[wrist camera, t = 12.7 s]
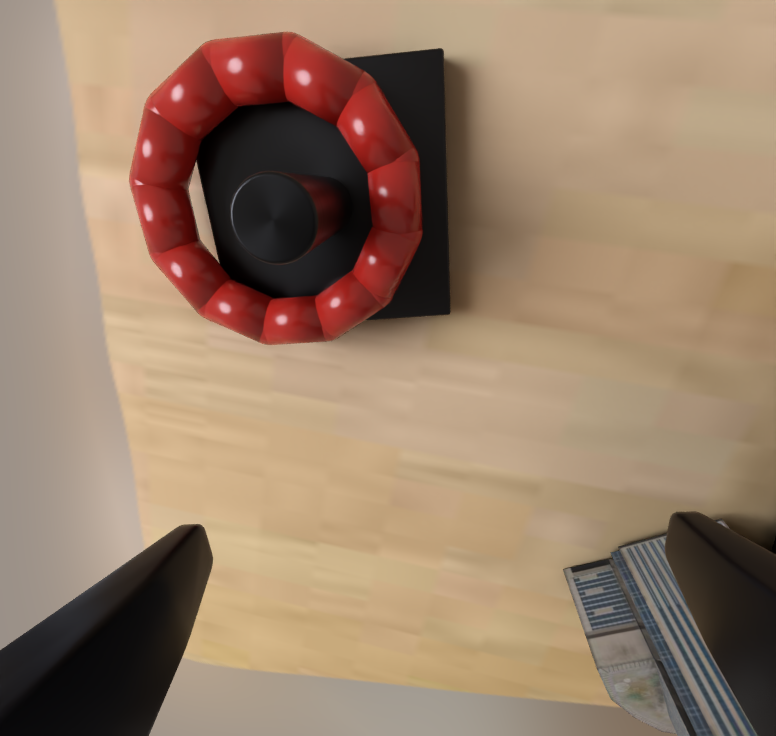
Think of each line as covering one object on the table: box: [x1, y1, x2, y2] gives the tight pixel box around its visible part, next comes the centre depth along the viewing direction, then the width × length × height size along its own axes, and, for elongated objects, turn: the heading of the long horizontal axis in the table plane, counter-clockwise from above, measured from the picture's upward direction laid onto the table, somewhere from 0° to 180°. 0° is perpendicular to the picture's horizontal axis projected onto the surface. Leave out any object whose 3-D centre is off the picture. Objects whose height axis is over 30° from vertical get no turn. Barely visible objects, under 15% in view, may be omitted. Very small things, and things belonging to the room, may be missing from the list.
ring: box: [129, 32, 423, 345], centre depth 15 cm, size 10×10×2 cm
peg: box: [196, 48, 451, 320], centre depth 13 cm, size 9×9×8 cm
